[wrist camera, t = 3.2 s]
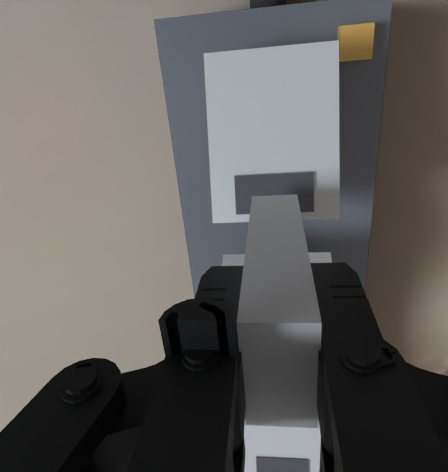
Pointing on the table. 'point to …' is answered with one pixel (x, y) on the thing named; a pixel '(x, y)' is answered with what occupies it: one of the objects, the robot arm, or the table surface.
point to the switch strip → (350, 115)
